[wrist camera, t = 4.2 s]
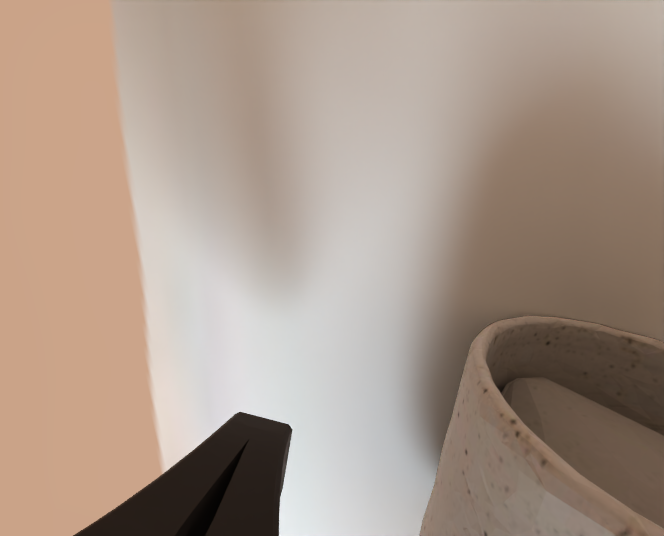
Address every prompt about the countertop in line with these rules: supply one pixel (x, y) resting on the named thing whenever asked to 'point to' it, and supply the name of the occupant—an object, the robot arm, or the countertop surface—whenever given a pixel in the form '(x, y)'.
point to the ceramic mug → (554, 434)
